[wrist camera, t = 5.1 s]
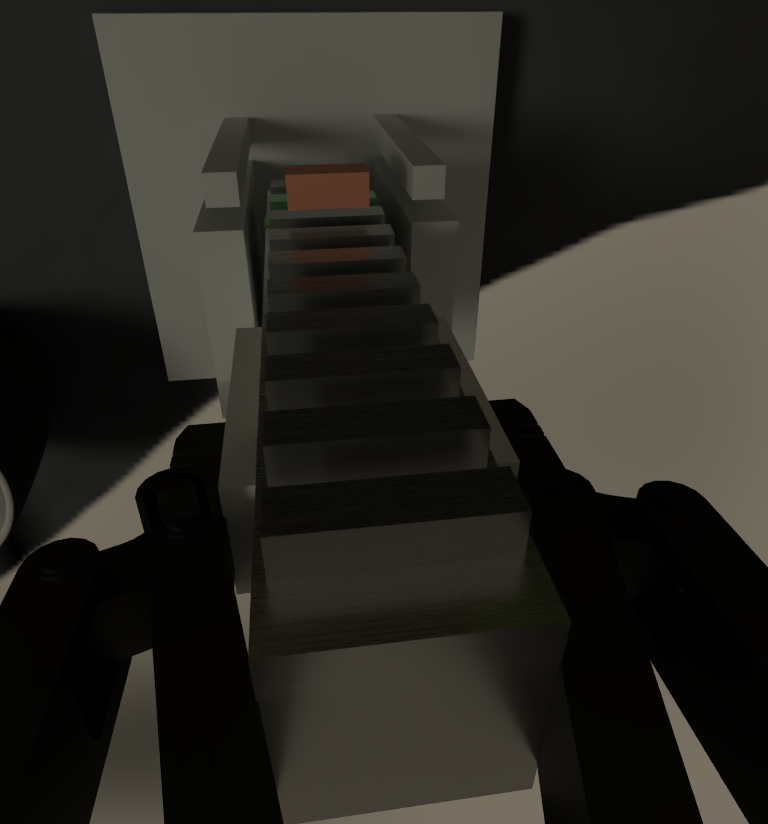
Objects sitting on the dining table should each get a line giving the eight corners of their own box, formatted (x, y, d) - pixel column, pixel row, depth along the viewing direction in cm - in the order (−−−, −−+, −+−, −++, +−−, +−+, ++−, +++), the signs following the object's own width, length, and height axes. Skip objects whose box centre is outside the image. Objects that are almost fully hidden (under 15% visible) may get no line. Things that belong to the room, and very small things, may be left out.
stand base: (103, 12, 26) (-13, 25, 16) (489, 10, 28) (617, 21, 17) (173, 362, 35) (130, 521, 24) (464, 343, 37) (540, 483, 26)
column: (264, 169, 26) (235, 615, 7) (367, 166, 26) (585, 576, 8) (275, 286, 28) (275, 828, 10) (369, 280, 29) (534, 789, 10)
